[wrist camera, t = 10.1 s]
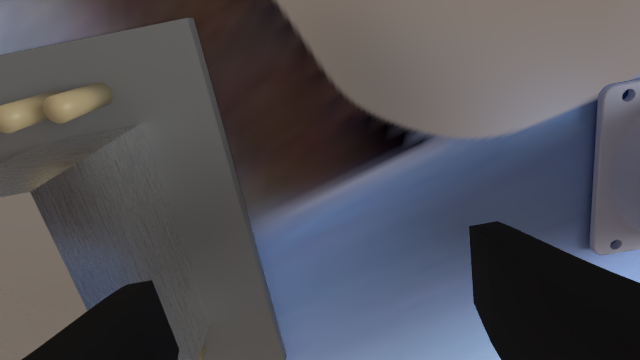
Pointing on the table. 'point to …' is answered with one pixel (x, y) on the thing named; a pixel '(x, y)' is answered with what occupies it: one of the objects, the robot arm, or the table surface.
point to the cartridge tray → (156, 156)
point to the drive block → (89, 239)
